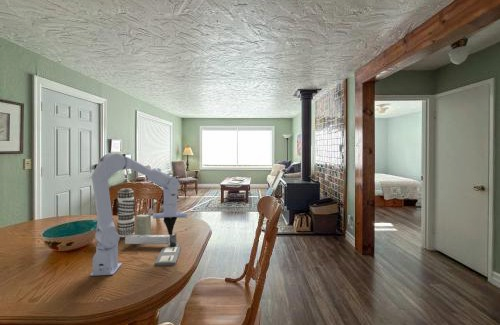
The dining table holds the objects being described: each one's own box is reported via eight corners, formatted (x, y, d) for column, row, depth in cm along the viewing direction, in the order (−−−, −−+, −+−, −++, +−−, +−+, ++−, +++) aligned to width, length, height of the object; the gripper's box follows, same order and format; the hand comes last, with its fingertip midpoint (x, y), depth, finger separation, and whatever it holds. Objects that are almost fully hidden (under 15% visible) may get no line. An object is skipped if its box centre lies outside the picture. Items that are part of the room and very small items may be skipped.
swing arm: (125, 243, 124) (125, 236, 124) (128, 241, 127) (128, 234, 127) (167, 244, 124) (167, 236, 124) (169, 242, 127) (169, 234, 127)
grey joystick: (177, 248, 123) (177, 235, 123) (166, 248, 123) (166, 236, 122) (179, 244, 128) (179, 232, 128) (168, 245, 128) (168, 232, 127)
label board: (175, 264, 105) (175, 261, 105) (154, 265, 104) (154, 262, 104) (180, 248, 123) (180, 245, 123) (163, 249, 122) (163, 246, 122)
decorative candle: (138, 232, 148) (138, 187, 147) (129, 237, 138) (129, 190, 138) (123, 231, 149) (122, 187, 148) (113, 237, 139) (112, 189, 138)
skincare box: (151, 238, 138) (151, 214, 138) (146, 240, 134) (146, 216, 134) (141, 236, 140) (140, 213, 140) (135, 239, 136) (135, 215, 135)
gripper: (188, 201, 122) (187, 230, 123) (155, 202, 120) (155, 231, 121) (186, 204, 115) (186, 235, 116) (151, 205, 113) (151, 236, 114)
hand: (170, 234), depth 118 cm, fingers closed
